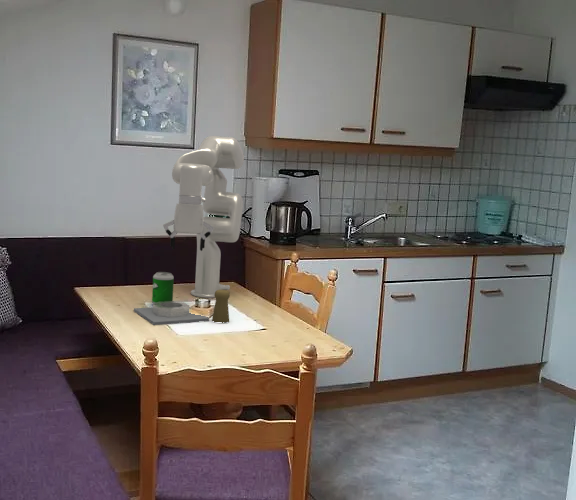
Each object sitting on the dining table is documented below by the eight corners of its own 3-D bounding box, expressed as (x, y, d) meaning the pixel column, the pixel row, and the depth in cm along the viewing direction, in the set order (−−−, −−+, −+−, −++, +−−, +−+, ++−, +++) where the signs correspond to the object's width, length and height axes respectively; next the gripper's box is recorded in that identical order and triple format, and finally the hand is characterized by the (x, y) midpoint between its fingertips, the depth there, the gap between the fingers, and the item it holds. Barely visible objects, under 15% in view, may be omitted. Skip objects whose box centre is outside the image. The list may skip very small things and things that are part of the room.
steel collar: (179, 308, 256) (180, 300, 256) (192, 316, 246) (193, 307, 246) (149, 310, 250) (149, 302, 250) (161, 318, 240) (161, 309, 240)
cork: (226, 324, 243) (228, 292, 241) (209, 322, 244) (211, 290, 242) (231, 320, 249) (233, 289, 247) (214, 318, 250) (216, 287, 248)
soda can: (174, 304, 267) (176, 272, 265) (169, 308, 259) (170, 276, 258) (155, 302, 267) (156, 271, 266) (149, 306, 260) (150, 274, 258)
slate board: (186, 307, 262) (186, 305, 262) (208, 321, 245) (209, 318, 245) (133, 311, 252) (133, 308, 251) (153, 325, 235) (153, 322, 235)
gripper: (214, 201, 250) (211, 249, 253) (164, 198, 247) (162, 247, 249) (215, 202, 243) (212, 252, 245) (164, 199, 240) (162, 250, 242)
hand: (187, 249), depth 247 cm, fingers open, 9 cm apart
